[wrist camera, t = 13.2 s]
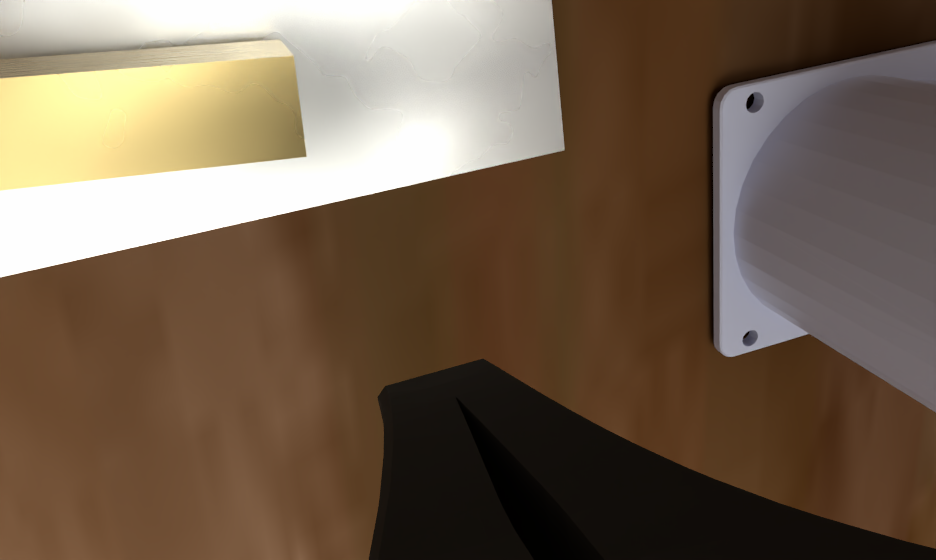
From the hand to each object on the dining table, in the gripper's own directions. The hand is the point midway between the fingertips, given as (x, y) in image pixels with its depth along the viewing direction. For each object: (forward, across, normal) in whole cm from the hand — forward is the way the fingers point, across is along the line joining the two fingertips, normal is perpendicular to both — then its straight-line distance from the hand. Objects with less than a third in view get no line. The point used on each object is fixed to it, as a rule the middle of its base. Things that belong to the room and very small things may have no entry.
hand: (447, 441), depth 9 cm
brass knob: (+9, +4, -4) cm, 11 cm away
